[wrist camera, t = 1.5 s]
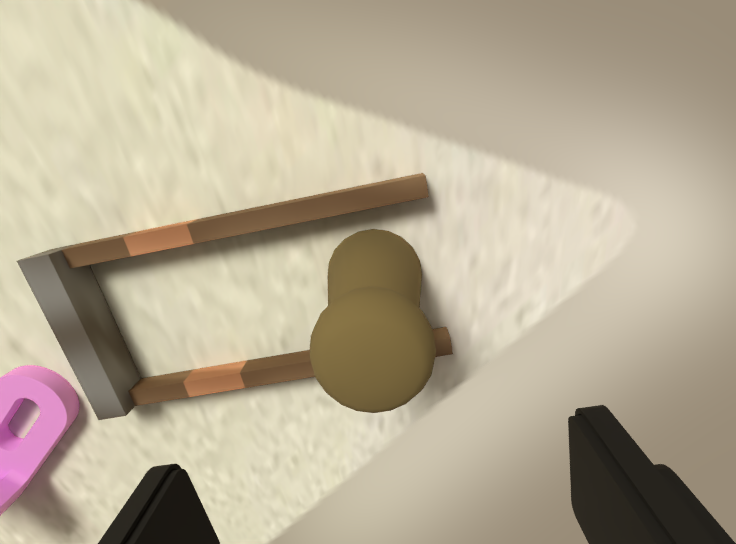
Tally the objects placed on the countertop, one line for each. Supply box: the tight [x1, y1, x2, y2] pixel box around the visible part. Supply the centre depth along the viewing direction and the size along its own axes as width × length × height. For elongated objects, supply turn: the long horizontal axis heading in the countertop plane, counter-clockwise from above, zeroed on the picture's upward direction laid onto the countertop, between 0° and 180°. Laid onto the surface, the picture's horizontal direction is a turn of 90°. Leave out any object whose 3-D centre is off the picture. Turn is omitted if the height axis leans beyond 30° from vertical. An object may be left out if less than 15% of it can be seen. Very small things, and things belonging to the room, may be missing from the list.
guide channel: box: [17, 173, 453, 420], centre depth 24 cm, size 11×24×2 cm, turn 101°
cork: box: [310, 229, 436, 413], centre depth 20 cm, size 6×6×11 cm
